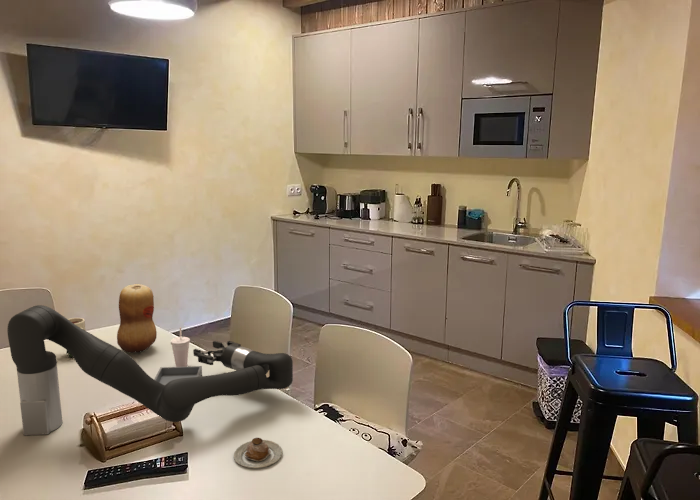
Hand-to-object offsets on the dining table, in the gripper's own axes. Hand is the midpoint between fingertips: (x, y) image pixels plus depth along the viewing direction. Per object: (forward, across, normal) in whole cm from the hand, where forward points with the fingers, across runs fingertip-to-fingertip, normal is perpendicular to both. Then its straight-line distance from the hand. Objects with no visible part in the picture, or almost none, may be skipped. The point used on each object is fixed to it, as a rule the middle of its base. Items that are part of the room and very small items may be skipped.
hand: (204, 347), depth 178 cm
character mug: (+50, -15, -9) cm, 53 cm away
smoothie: (+11, 0, -10) cm, 15 cm away
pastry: (-46, -26, -10) cm, 54 cm away
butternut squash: (+35, 0, -9) cm, 36 cm away
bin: (+1, -11, -9) cm, 14 cm away
